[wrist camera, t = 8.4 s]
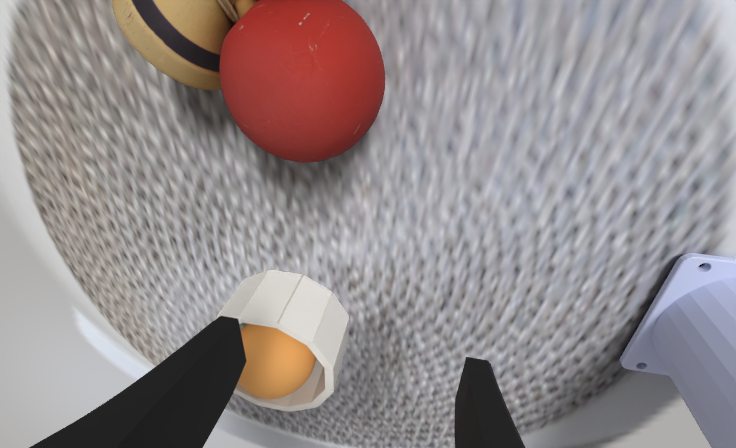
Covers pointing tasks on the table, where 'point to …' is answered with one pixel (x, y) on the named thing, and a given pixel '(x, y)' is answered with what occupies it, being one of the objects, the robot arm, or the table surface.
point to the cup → (295, 329)
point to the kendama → (269, 66)
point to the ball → (274, 362)
